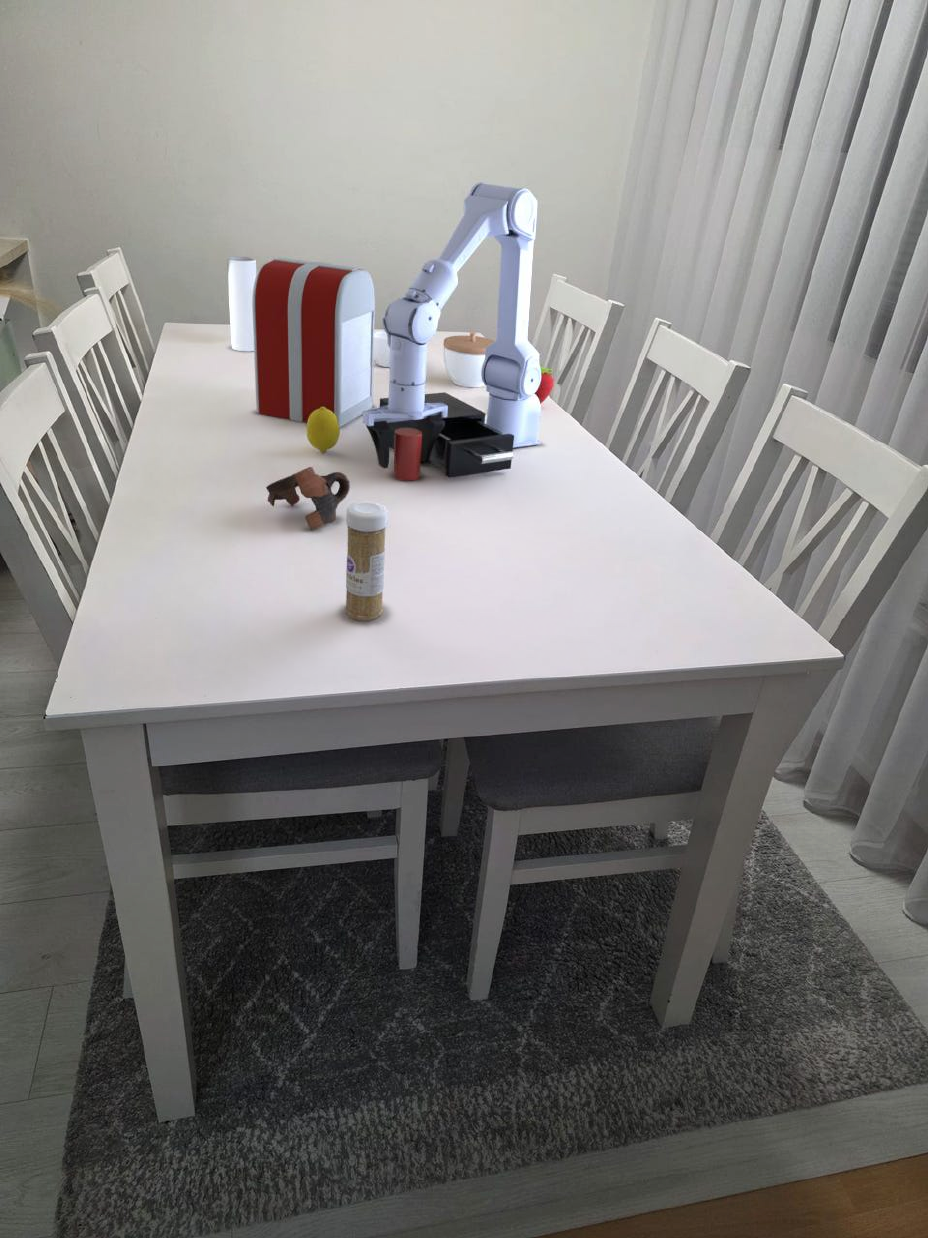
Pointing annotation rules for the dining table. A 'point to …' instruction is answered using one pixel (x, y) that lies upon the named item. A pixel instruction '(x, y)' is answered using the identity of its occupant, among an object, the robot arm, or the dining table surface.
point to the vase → (241, 301)
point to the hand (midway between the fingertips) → (403, 463)
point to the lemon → (323, 429)
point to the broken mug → (312, 493)
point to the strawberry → (545, 384)
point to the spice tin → (407, 454)
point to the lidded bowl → (465, 359)
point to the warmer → (455, 413)
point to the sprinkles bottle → (365, 560)
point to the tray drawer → (471, 448)
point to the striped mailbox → (313, 339)
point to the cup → (381, 349)
